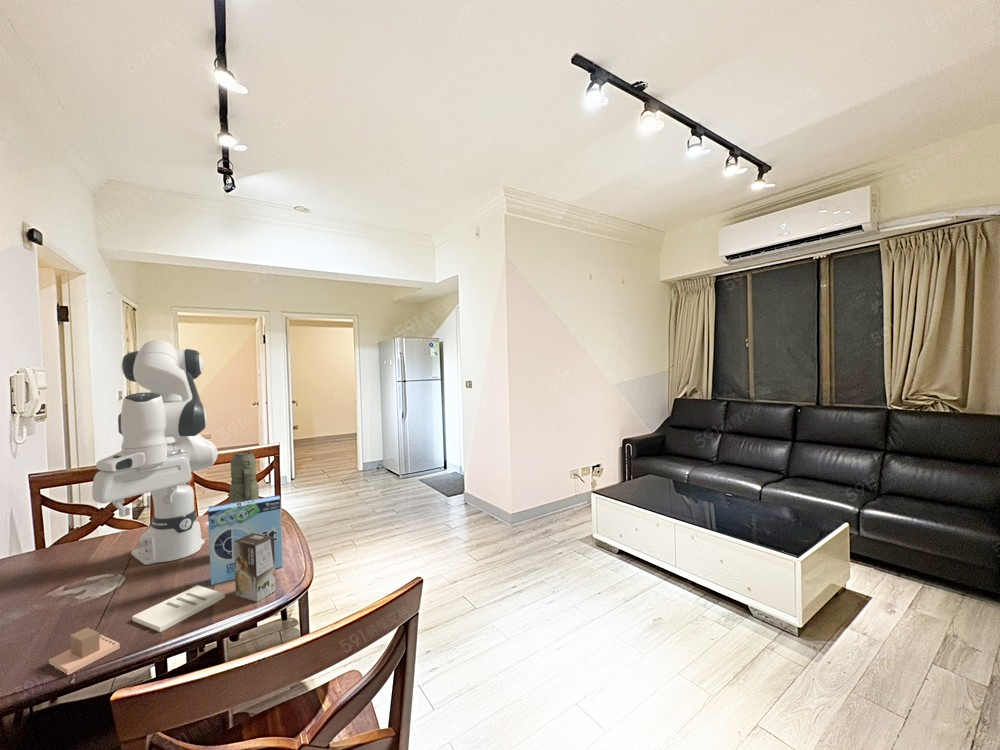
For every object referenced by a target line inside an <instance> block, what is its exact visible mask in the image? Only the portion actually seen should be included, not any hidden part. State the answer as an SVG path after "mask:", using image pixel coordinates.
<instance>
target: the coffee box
mask: <svg viewBox="0 0 1000 750" xmlns="http://www.w3.org/2000/svg"><path fill="white" fill-rule="evenodd" d="M234 557H235V579H234V580H235V581H234V582H235V583H234V584H235V585H234V586H235V596H236V597H238V596H239V598H243V599H245V600H249V601H253V602H260V601H262V600H263V599H265V598H266V596H267V597H268V596H270V595H271V594H273V593H274V592H273V591H275V590H276V591H277V589H276V569H275V554H274V537H270V536H265V535H260V534H255V533H252V534H249V535H247V536H244V537H242V538H240V539H238V540H236V541H234ZM276 591H275V592H276ZM272 592H273V593H272ZM269 594H270V595H269Z"/></svg>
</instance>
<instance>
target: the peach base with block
mask: <svg viewBox="0 0 1000 750" xmlns="http://www.w3.org/2000/svg"><path fill="white" fill-rule="evenodd" d="M69 640H70V641H69V643H70V649H67V650H66V651H63V652H62V653H60V654H57V655H55V656H54V657H51V658H49V659H48V665H49V664H51V665H52V666H54V667H55V668H54V667H53V668H54V669H56V668H57V669H56V670H58V669H59V670H60V671H59V670H58V671H59V672H61V671H62V673H63V672H64V673H63V674H65V673H66V674H65V675H67V676H69V675H71V674H73V673H75V672H77V671H79V670H80V669H83V668H85V667H86V666H89V665H91V664H92V663H94V662H96V661H98V660H100V659H102V658H105V656H108V655H109V654H112V653H113V652H116V651H117V650H119V649H120V648H121V647H120V646H121V645H120V642H118V641H115V640H114V639H111V638H109V637H106V636H105V635H103V634H100V632H98V631H96V630H94V629H91V628H89V627H85V628H83V629H81V630H79V631H76V632H75V633H72V634H70V635H69ZM52 666H51V667H52Z"/></svg>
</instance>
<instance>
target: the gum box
mask: <svg viewBox="0 0 1000 750" xmlns="http://www.w3.org/2000/svg"><path fill="white" fill-rule="evenodd" d="M281 501H282V500H281V497H280V494H275V495H271V496H267V497H259V499H253V500H247V501H241V502H235V503H230V502H229V503H226V504H225V503H223V504H219V505H218V504H217V505H211V506H208V508H207V509H208V510H207V511H208V512H207V514H208V515H207V517H208V520H207V521H208V542H209V543H208V544H209V567H210V568H209V569H210V571H209V572H210V585H211V586H213V585H217V584H220V583H224V582H229V581H233V580H235V557H234V541H236V540H238V539H240V538H242V537H244V536H247V535H249V534H252V533H255V534H260V535H265V536H270V537H274V554H275V570H276V569H280V568H283V567H284V565H283V540H282V539H283V538H282V506H281V505H282V504H281Z"/></svg>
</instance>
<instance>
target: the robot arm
mask: <svg viewBox="0 0 1000 750" xmlns="http://www.w3.org/2000/svg"><path fill="white" fill-rule="evenodd" d="M204 365H205V364H204V358H203V357H202V355H201V353H200V352H199V351H198V350H195V349H191V348H186V349H181V348H179V349H178V348H177V349H176V347H175V346H174V345H173V344H172V343H170V342H169V341H167V340H162V339H153V340H150V341H147V342H145V343H144V344H143V345H142V346H141V348H140V349H139V350H136V351H131V352H127V353H126V354H125V355H124V356H123V357H122V361H121V364H120V368H121V372H122V374H123V375H124V378H125V379H126V380H128V381H130V382H133V383H137V384H138V386H140V387H142V388H143V389H145V390H148V391H150V392H147V391H146V392H136V393H131V394H129V395H126V396H124V398H123V401H122V405H121V411H120V413H119V414H118V417H117V422H118V423H117V425H118V426H117V427H118V433H119V434H120V435H122V437H123V438H122V439H123V440H122V444H121V451H119V452H116V453H114V454H112V455H109V456H107V457H104V458H103V459H100V460H98V461H97V462H96V466H95V467H96V469H97V470H99V471H97V472H96V473H95V475H94V477H93V482H92V489H91V495H92V498H91V499H92V500H93V501H94V502H96V503H97V504H98V503H99V504H108V503H112V505H113V506H114V507H115V508H116V509H117V510H118V516H119V517H120V518H124V517H127V516H130V514H131V508H130V507H126V506H124V505H123V504H124V503H125V499H128V498H133V497H136V496H141V495H143V494H149V493H151V496H152V501H153V510H154V513H153V514H154V515H152V516H151V519H150V520H151V525H150V527H149V528H148V529H147V530H146V531H145V532H144V533H143V534H142V535H140V537H139V541H138V542H137V546H138V547H136V548H135V549H133V550H132V551H131V553H130V555H131V556H132V557H134V558H135V559H137V560H138V561H139V562H141V563H142V564H143V565H152V564H157V563H165V562H172V561H177V560H181V559H183V558H186V557H189V556H192V555H194V554H196V553H197V552H198V551H199V550H201V548H202V546H203V545H204V544H205V541H206V539H203V538H202V532H201V526H200V522H199V521H198V520H197V510H196V508H195V491H194V489H193V487H192V486H191V485H190V484H188V483H190V481H192V477H193V476H192V472H198V471H202V470H205V469H207V468H211V467H213V465H214V464H215V462H216V461H217V460H218V455H219V452H218V447H217V446H216V444H215V443H213V442H212V441H211V440H209V439H207V438H205V437H204V436H202V435H200V433H201V432H203V431H204V430H205V429H206V426H207V424H208V415H207V411H206V409H205V407H204V406H203V403H202V401H201V399H200V395H199V392H198V389H197V386H196V383H195V381H194V380H195V379H197V378H199V376H201V374H202V372H203V371H204ZM167 438H173V439H174V442H173V441H172V442H168V441H167ZM167 442H168V443H167Z"/></svg>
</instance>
